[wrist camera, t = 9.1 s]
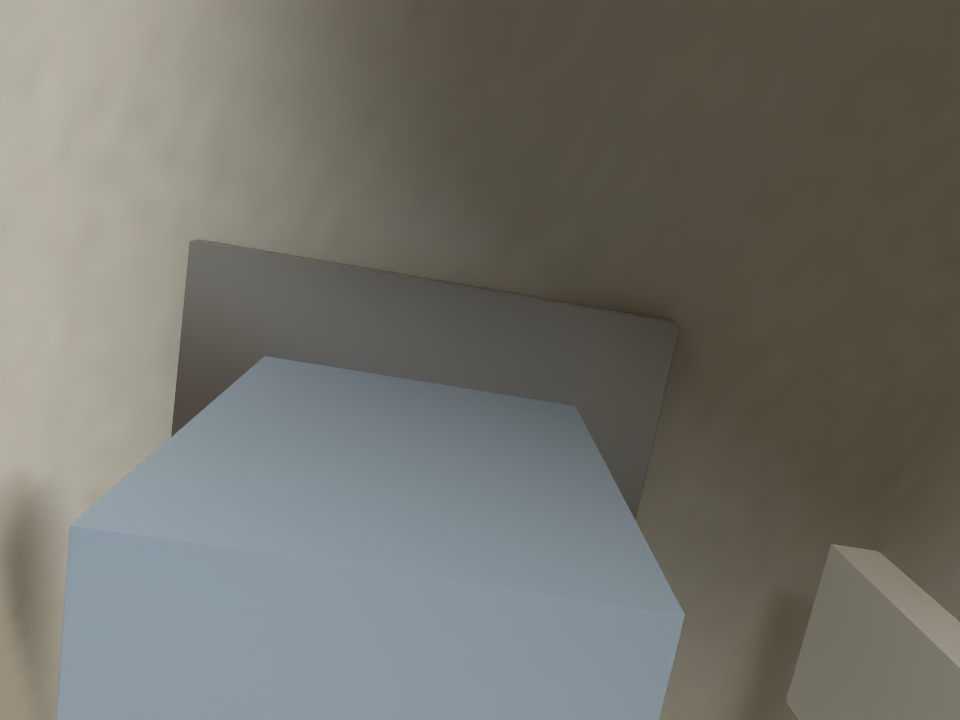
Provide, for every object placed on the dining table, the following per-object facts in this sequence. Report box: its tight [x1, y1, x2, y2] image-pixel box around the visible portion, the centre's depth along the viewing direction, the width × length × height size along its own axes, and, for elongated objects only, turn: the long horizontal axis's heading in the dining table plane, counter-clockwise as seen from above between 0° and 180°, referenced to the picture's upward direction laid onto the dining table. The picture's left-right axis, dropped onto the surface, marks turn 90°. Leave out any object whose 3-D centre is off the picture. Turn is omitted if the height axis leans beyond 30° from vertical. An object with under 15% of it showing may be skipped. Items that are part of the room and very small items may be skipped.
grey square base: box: [171, 240, 680, 519], centre depth 11 cm, size 8×8×5 cm
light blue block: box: [57, 356, 685, 720], centre depth 10 cm, size 5×5×7 cm
